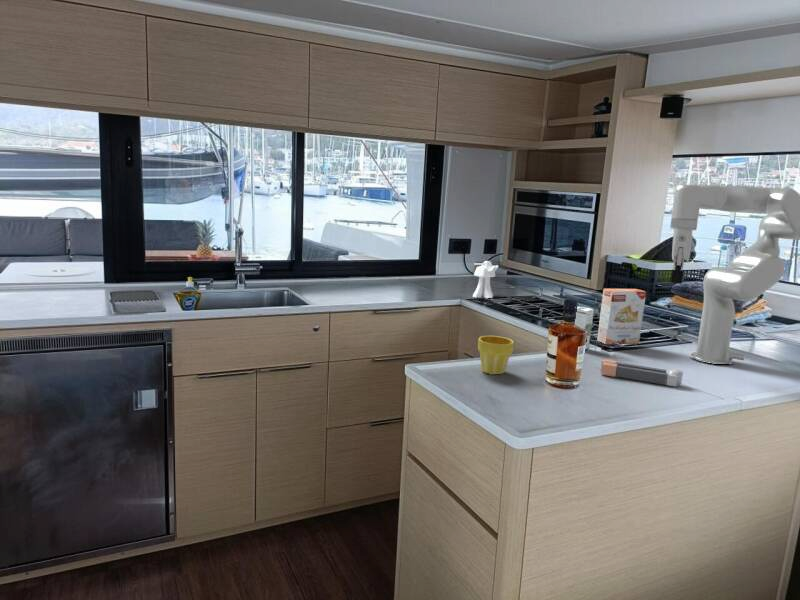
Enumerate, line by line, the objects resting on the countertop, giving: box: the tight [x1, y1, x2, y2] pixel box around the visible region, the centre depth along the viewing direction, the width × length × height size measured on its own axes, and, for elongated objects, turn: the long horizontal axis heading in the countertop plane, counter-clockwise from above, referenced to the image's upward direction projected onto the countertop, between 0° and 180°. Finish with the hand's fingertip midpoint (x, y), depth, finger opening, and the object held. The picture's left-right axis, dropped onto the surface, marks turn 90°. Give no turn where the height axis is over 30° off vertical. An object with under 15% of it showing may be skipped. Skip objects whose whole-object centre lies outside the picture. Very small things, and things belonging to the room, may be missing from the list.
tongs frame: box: [600, 362, 684, 388], centre depth 176 cm, size 22×5×4 cm, turn 65°
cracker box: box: [596, 288, 647, 345], centre depth 212 cm, size 14×6×21 cm, turn 105°
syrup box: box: [575, 306, 595, 350], centre depth 207 cm, size 6×6×14 cm
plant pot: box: [477, 335, 514, 375], centre depth 177 cm, size 10×10×10 cm
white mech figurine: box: [472, 260, 500, 299], centre depth 300 cm, size 12×13×18 cm
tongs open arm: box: [600, 358, 667, 373], centre depth 179 cm, size 18×3×3 cm, turn 65°
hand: (676, 282), depth 190 cm, fingers closed
